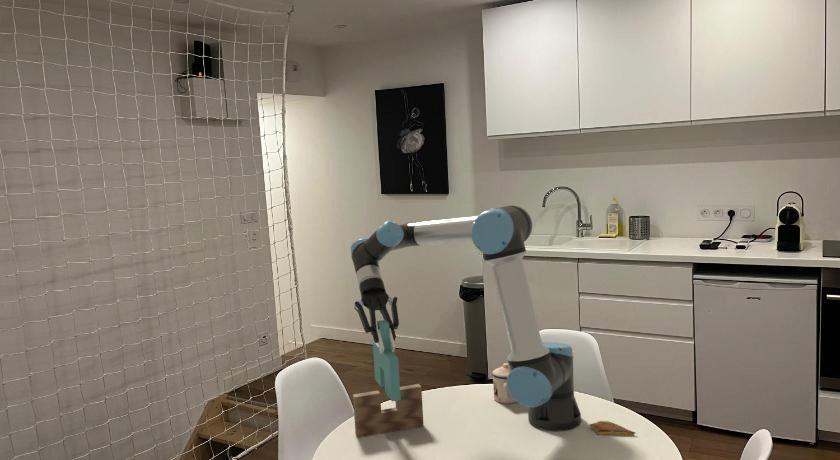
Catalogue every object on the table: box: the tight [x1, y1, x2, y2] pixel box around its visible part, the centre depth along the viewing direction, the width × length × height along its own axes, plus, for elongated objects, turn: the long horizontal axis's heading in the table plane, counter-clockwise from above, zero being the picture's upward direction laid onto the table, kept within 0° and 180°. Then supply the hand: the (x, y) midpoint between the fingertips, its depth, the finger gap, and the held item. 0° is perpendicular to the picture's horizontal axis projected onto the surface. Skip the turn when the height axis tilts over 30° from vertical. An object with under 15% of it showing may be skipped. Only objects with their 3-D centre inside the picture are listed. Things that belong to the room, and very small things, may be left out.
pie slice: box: [588, 420, 636, 437], centre depth 173 cm, size 11×8×2 cm
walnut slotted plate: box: [352, 383, 424, 439], centre depth 183 cm, size 20×2×12 cm, turn 108°
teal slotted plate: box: [372, 319, 401, 402], centre depth 181 cm, size 20×2×20 cm, turn 18°
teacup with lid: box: [492, 362, 518, 404], centre depth 201 cm, size 12×9×12 cm
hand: (388, 350), depth 177 cm, fingers closed on teal slotted plate, 2 cm apart
